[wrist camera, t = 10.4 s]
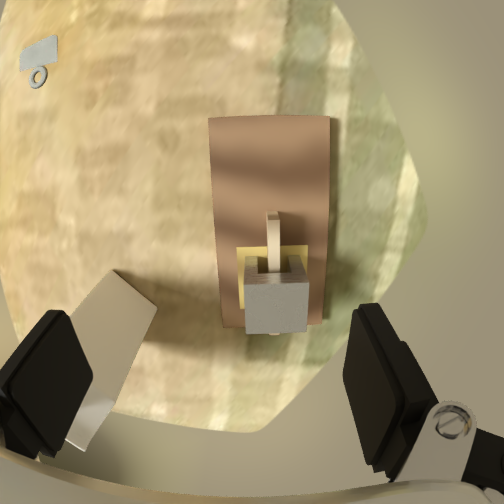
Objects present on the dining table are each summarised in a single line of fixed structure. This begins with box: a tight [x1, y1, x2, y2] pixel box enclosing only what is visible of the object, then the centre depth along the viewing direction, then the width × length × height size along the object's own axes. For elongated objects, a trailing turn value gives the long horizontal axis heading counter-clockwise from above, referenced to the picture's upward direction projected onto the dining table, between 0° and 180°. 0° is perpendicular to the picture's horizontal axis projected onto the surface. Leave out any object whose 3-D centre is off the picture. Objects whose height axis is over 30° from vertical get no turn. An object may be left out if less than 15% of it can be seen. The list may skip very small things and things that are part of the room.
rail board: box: [208, 115, 330, 335], centre depth 30 cm, size 22×11×4 cm, turn 2°
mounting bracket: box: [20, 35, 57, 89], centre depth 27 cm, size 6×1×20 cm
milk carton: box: [65, 270, 157, 451], centre depth 27 cm, size 7×7×19 cm
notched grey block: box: [243, 255, 309, 334], centre depth 30 cm, size 5×5×6 cm
